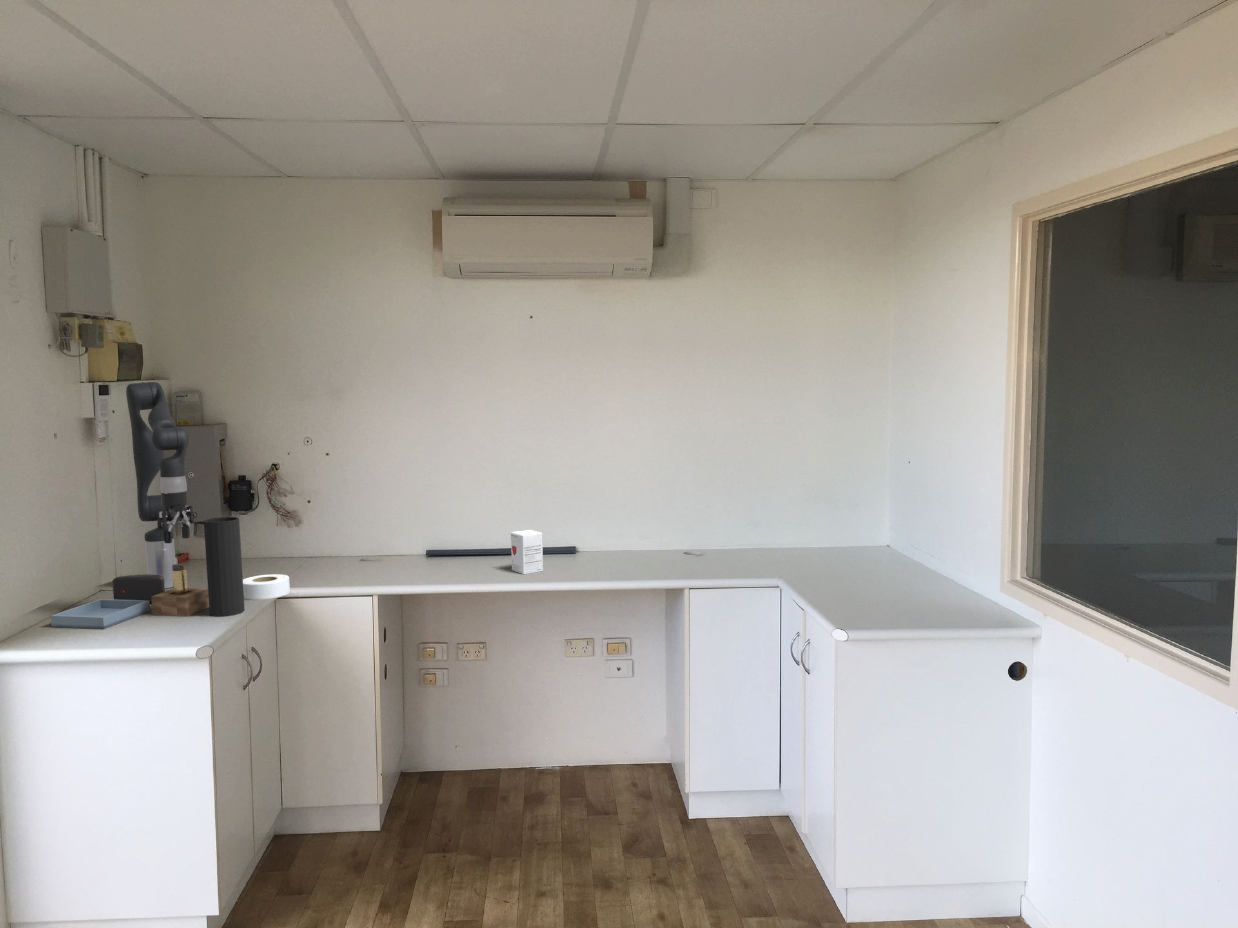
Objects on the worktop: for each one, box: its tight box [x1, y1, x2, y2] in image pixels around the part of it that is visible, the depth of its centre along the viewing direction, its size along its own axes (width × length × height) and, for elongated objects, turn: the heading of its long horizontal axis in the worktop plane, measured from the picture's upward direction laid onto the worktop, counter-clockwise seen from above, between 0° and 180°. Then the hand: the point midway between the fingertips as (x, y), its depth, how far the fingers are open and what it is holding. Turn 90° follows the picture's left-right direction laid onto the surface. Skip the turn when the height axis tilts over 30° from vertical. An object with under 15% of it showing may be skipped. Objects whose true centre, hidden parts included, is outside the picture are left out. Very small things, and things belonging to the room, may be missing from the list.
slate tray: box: [50, 598, 151, 630], centre depth 276 cm, size 20×18×4 cm
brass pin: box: [172, 563, 189, 595], centre depth 284 cm, size 4×4×15 cm
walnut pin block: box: [151, 587, 209, 617], centre depth 284 cm, size 12×12×6 cm
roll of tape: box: [243, 573, 291, 601], centre depth 305 cm, size 16×16×6 cm
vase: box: [203, 516, 246, 618], centre depth 280 cm, size 10×10×30 cm
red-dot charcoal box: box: [111, 573, 166, 605], centre depth 295 cm, size 16×5×9 cm, turn 96°
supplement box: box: [510, 529, 544, 575], centre depth 334 cm, size 9×9×15 cm
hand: (177, 540), depth 282 cm, fingers open, 8 cm apart
